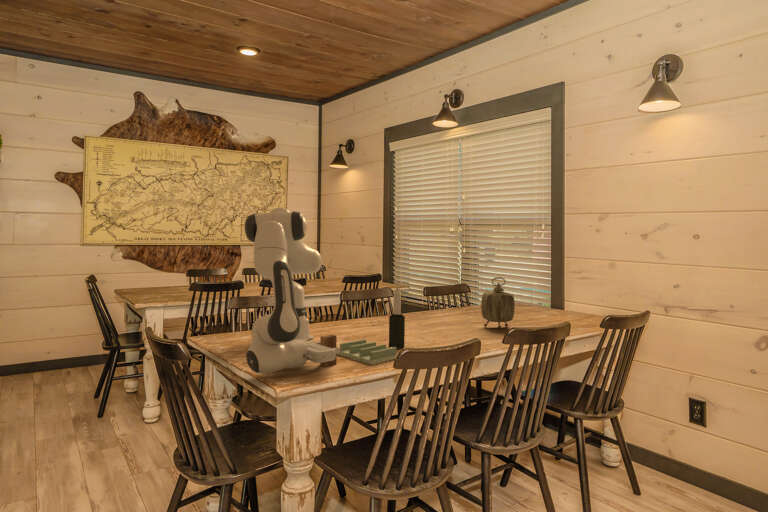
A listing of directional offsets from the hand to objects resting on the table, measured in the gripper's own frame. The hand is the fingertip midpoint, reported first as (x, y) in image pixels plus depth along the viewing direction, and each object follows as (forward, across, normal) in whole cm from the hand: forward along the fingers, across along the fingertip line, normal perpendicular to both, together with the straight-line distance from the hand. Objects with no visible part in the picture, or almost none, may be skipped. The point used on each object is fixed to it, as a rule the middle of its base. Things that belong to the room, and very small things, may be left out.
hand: (330, 347), depth 168 cm
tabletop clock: (+102, +1, +6) cm, 102 cm away
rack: (+17, 0, +6) cm, 18 cm away
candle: (+35, +3, +6) cm, 36 cm away
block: (-1, 0, +6) cm, 6 cm away
